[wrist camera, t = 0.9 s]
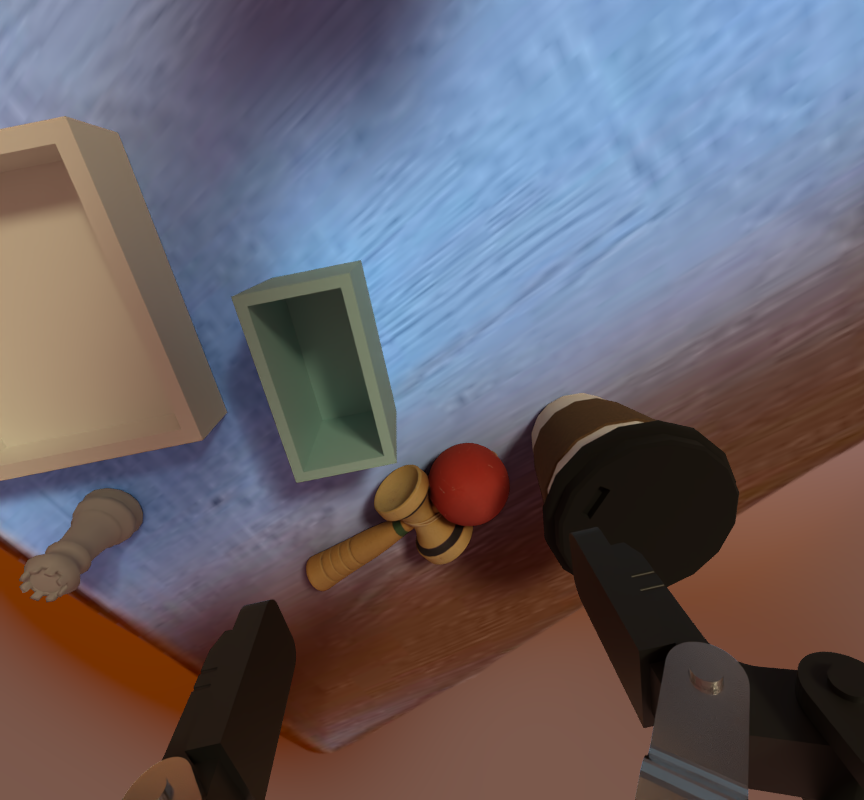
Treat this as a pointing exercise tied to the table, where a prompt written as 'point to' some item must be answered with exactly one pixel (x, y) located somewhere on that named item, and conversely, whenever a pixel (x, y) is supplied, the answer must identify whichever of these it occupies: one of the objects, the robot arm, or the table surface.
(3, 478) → the beige tray
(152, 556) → the table surface
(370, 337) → the teal tote
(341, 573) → the kendama
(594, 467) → the coffee cup
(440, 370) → the table surface
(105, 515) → the rook chess piece
